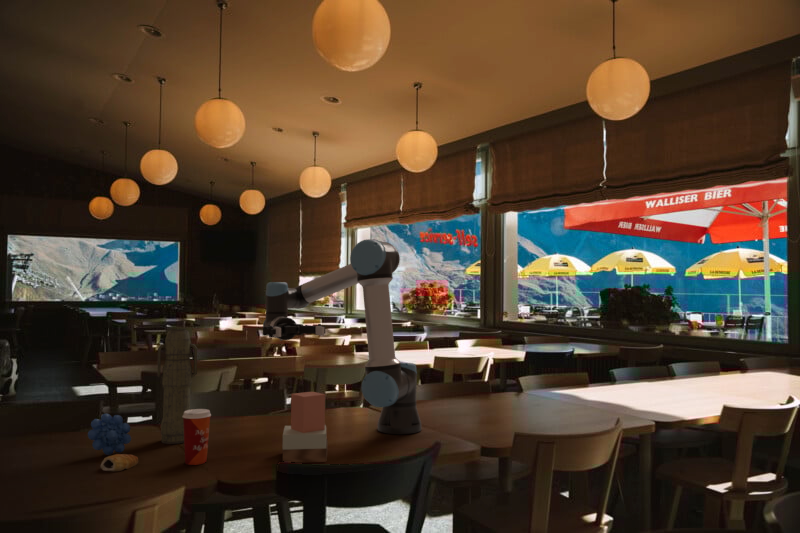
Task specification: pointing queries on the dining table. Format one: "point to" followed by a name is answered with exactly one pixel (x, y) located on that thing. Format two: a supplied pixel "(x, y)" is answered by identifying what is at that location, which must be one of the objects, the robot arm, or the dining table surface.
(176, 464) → the dining table surface
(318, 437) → the tower top
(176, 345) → the stone statue
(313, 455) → the tower base
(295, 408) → the salmon pink block
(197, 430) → the paper cup
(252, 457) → the dining table surface
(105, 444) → the blue knobbly flower
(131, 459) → the pastry
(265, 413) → the dining table surface
